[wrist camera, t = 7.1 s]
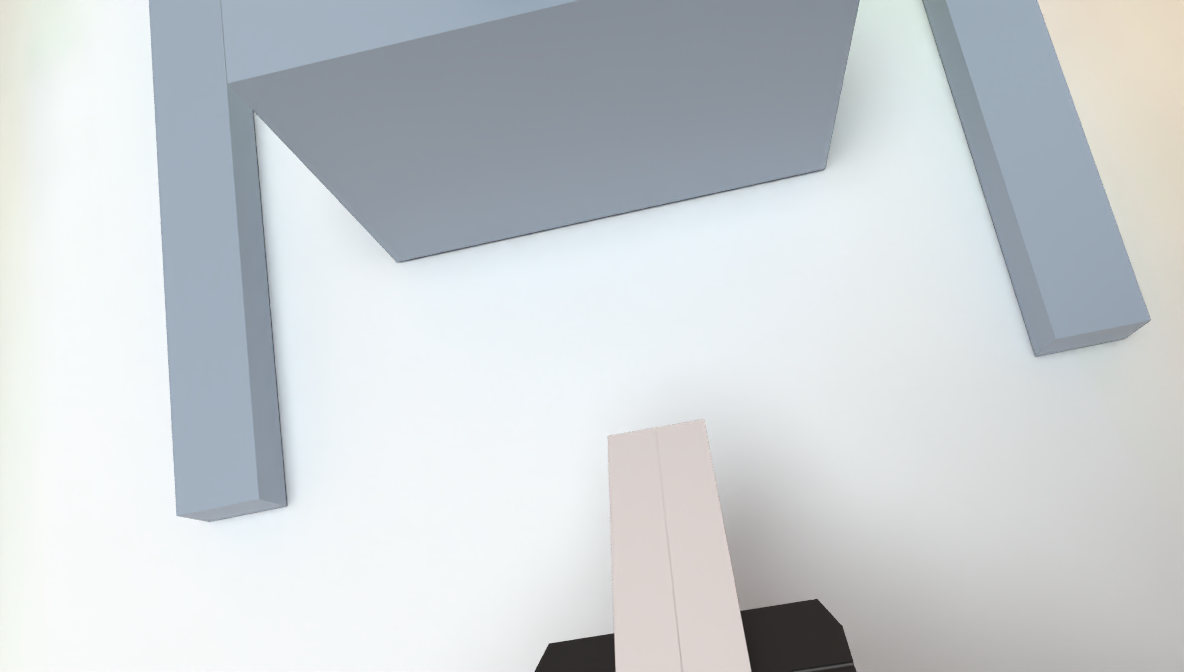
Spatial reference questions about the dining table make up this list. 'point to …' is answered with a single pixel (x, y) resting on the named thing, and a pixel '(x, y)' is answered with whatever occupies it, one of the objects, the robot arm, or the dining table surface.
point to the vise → (238, 264)
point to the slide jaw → (537, 104)
